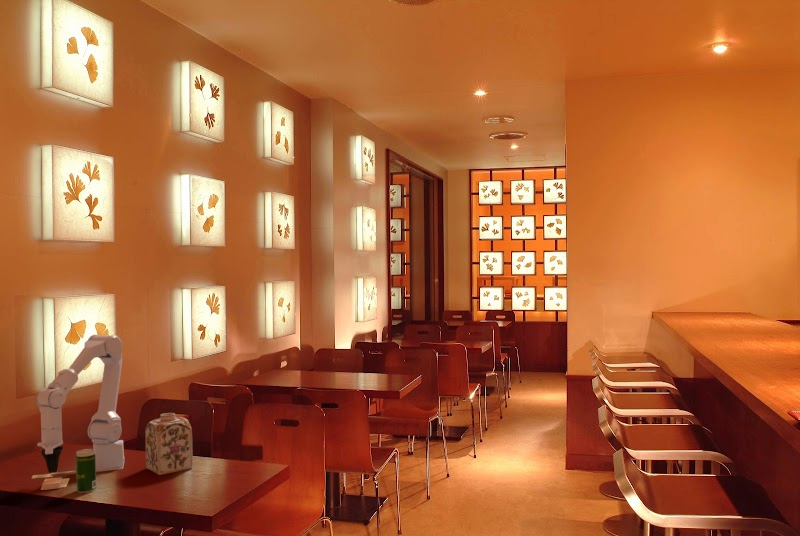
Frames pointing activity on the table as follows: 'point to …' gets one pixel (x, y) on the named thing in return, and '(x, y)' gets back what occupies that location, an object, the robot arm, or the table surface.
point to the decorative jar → (169, 444)
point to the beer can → (86, 470)
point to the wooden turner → (52, 474)
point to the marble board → (64, 482)
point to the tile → (52, 483)
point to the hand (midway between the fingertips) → (52, 472)
